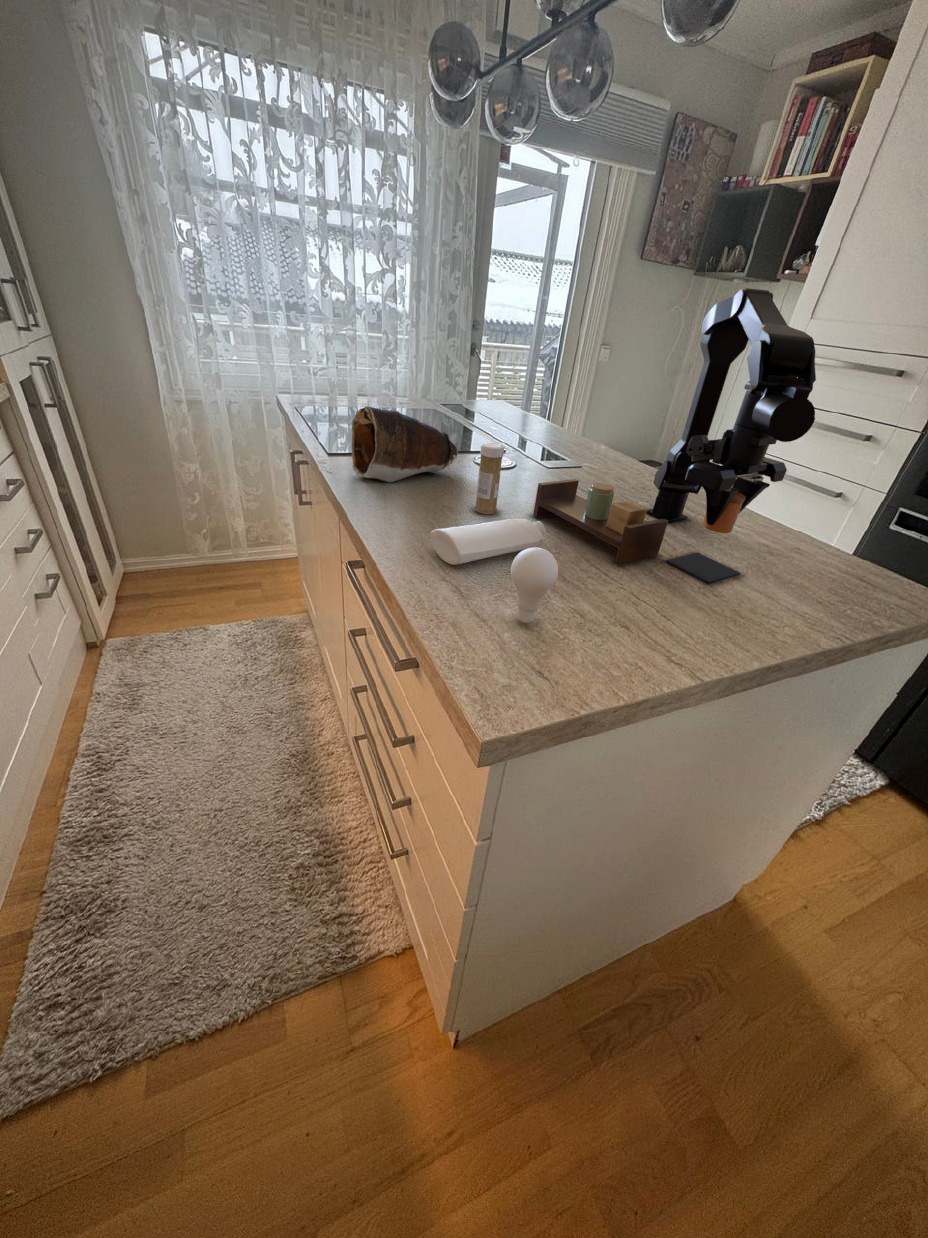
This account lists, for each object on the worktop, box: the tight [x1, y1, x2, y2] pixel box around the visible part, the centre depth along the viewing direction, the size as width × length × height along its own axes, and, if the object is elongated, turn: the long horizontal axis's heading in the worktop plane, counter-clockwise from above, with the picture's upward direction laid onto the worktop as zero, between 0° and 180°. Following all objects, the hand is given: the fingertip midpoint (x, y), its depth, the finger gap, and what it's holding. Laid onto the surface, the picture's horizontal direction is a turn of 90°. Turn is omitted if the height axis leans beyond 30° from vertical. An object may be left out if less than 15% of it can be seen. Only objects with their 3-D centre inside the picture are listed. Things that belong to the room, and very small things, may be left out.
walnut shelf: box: [532, 478, 669, 566], centre depth 99 cm, size 10×24×7 cm, turn 32°
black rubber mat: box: [665, 552, 741, 585], centre depth 92 cm, size 9×9×1 cm
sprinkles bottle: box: [474, 442, 505, 515], centre depth 103 cm, size 5×5×13 cm
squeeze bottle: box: [430, 518, 546, 566], centre depth 89 cm, size 10×20×5 cm, turn 122°
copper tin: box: [701, 492, 746, 534], centre depth 86 cm, size 5×5×6 cm
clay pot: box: [351, 406, 459, 484], centre depth 121 cm, size 15×15×25 cm
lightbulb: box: [510, 546, 559, 624], centre depth 68 cm, size 6×6×11 cm
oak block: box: [606, 500, 648, 534], centre depth 93 cm, size 4×4×4 cm
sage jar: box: [584, 482, 615, 520], centre depth 97 cm, size 5×5×6 cm
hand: (718, 522), depth 87 cm, fingers closed on copper tin, 5 cm apart
